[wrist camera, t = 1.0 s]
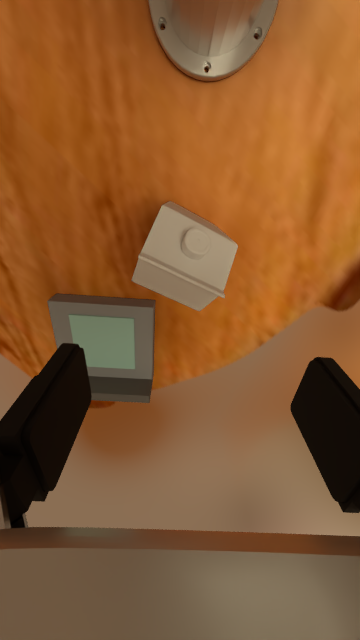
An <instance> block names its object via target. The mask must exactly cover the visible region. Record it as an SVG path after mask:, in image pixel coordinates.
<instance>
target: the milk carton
mask: <svg viewBox="0 0 360 640" xmlns="http://www.w3.org/2000/svg"><path fill="white" fill-rule="evenodd" d="M237 248H238V245H237V244H236V243H235V242H234V241H233V240H232V239H231V238H229V237H228V236H227V235H226V234H225V233H224V232H222V231H221V230H220V229H219V228H218V227H217V226H215V225H214V224H212V223H211V222H209V221H207V220H205V219H203V218H201V217H200V216H198V215H196V214H194V213H192V212H190V211H189V210H187V209H185V208H183V207H181V206H179V205H177V204H176V203H174V202H172V201H169V202H167V203H165V204H163V205H162V206H161V209H160V211H159V213H158V215H157V218H156V220H155V222H154V224H153V226H152V229H151V231H150V233H149V235H148V237H147V240H146V242H145V244H144V246H143V249H142V251H141V253H140V254H139V256H138V258H139V259H138V262H137V265H136V268H135V271H134V274H133V277H132V280H131V281H133V282H135V283H137V284H139V285H141V286H143V287H146V288H148V289H150V290H152V291H155V292H157V293H159V294H161V295H164V296H166V297H168V298H170V299H173V300H175V301H177V302H179V303H181V304H184V305H186V306H188V307H190V308H193V309H195V310H197V311H201V310H202V309H203V308H204V307H206V306H207V305H208V304H209V303H211V302H212V301H213V300H214V299H216V298H217V297H218V296H220V297H222V298H225V294H224V292H223V291H224V288H225V285H226V282H227V279H228V276H229V272H230V269H231V266H232V263H233V260H234V257H235V254H236V251H237Z"/></svg>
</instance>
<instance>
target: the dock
mask: <svg viewBox="0 0 360 640" xmlns="http://www.w3.org/2000/svg"><path fill="white" fill-rule="evenodd" d="M47 302H48V307H49V311H50V316H51V321H52V326H53V330H54V335H55V340H56V345H57V349H58V348H59V347H60V345H61V344H62V343H73V344H79V346H80V348H83V349H84V353H85V359H86V365H87V371H88V376H89V382H90V388H91V394H92V398H91V400H102V401H122V402H142V403H149V402H150V395H151V389H152V382H153V375H154V331H155V300H147V299H132V298H116V297H101V296H86V295H70V294H55V295H54V296H53V297H52V298H50V299H49V300H48V301H47Z"/></svg>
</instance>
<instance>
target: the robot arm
mask: <svg viewBox="0 0 360 640" xmlns="http://www.w3.org/2000/svg"><path fill="white" fill-rule="evenodd" d="M148 1H149V7H150V14H151V18H152V21H153V25H154V29H155V32H156V35H157V37H158V40H159V42H160V44H161V46H162V48H163V50H164V51H165V53H166V55H167V56H168V58H169V59H170V60H171V61H172V62H173V63H174V65H175V66H176V67H177V68H178V69H180V70H181V71H182V72H184V73H185V74H186V75H188V76H191V77H193V78H195V79H198V80H204V81H215V80H221V79H223V78H226V77H229V76H231V75H232V74H234V73H236V72H237V71H239V70H240V69H241V68H242V67H243V66H245V65H246V64H247V63H248V62H249V61H250V60H251V58H252V57H253V56H254V54H255V53H256V52H257V50H258V49H259V47H260V46H261V44H262V42H263V40H264V39H265V37H266V35H267V32H268V30H269V28H270V26H271V24H272V21H273V18H274V15H275V12H276V8H277V5H278V1H279V0H148ZM162 26H164V27H165V30H161V27H162ZM255 35H256V36H257V37H258V40H256V39H255V38H254V36H255ZM205 68H208V70H209V71H208V73H206V72H204V69H205ZM91 398H92V394H91V388H90V382H89V376H88V371H87V365H86V359H85V353H84V349H83V348H80V346H79V344H73V343H62V344H61V345H60V347H59V348H58V349H57V351H56V352H55V353H54V355H53V356H52V357H51V359H50V360H49V361H48V363H47V364H46V365H45V367H44V368H43V369H42V371H41V372H40V373H39V375H37V376H35V377H34V378H33V379H32V380H31V381H30V383H29V384H28V385H27V386H26V388H25V389H24V391H23V392H22V393H21V394H20V396H19V397H18V398H17V400H16V401H15V402H14V403H13V405H12V406H11V408H10V409H9V410H8V411H7V413H6V414H5V415H4V417H3V418H2V419H1V421H0V640H360V537H359V536H333V535H332V536H331V535H307V534H282V533H281V534H280V533H253V532H223V531H193V530H159V529H157V530H156V529H124V528H78V527H76V528H75V527H74V528H72V527H29V528H28V524H27V519H26V515H25V512H27V511H28V509H29V506H30V505H31V502H32V501H45V499H46V496H47V494H48V492H49V491H53V490H54V488H55V487H56V484H57V482H58V480H59V477H60V475H61V472H62V470H63V468H64V465H65V463H66V460H67V458H68V456H69V453H70V451H71V448H72V446H73V444H74V441H75V439H76V436H77V434H78V432H79V429H80V427H81V424H82V422H83V419H84V417H85V415H86V412H87V410H88V407H89V405H90V402H91ZM291 412H292V415H293V417H294V419H295V421H296V423H297V425H298V427H299V429H300V431H301V433H302V436H303V438H304V439H305V442H306V444H307V446H308V448H309V450H310V452H311V454H312V456H313V458H314V460H315V462H316V465H317V467H318V469H319V471H320V473H321V475H322V477H323V479H324V481H325V483H326V485H327V487H328V489H329V491H330V493H331V495H332V497H333V498H334V499H335V501H337V502H338V503H339V505H340V507H341V509H342V511H343V512H349V513H359V512H360V389H359V388H358V387H357V386H356V385H355V384H354V382H353V381H352V380H351V379H350V378H349V377H348V375H347V374H346V373H345V372H344V371H343V370H342V369H341V367H340V366H339V365H338V364H337V363H336V362H335V361H334V360H333V359H332V358H321V357H316V358H314V360H312V361H310V363H309V364H308V367H307V369H306V371H305V374H304V376H303V378H302V380H301V383H300V385H299V387H298V389H297V392H296V394H295V396H294V399H293V401H292V403H291Z"/></svg>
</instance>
